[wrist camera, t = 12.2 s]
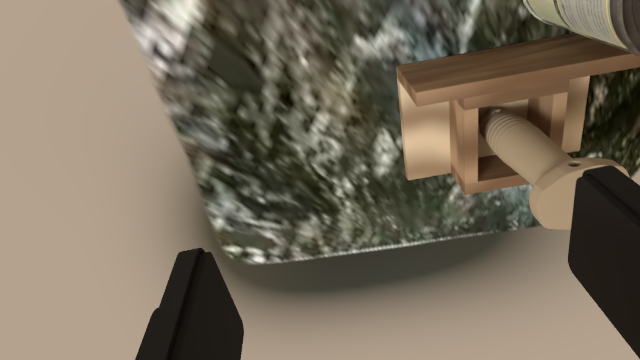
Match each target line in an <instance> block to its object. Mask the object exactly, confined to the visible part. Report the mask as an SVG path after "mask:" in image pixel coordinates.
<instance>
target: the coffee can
mask: <svg viewBox="0 0 640 360" xmlns="http://www.w3.org/2000/svg"><path fill="white" fill-rule="evenodd" d="M523 3H524V4H525V6H526V7H527V9H528V10H529V12H530V13H531V14H532V15H533V16H534V17H536V18H537V19H539V20H540V21H542V22H544V23H547V24H550V25H554V26H558V27H561V28H564V29H567V30H569V31H572V32H575V33H577V34H580V35H583V36H585V37H588V38H591V39H594V40H597V41H600V42H602V43H605V44H608V45H611V46H614V47H617V48H619V49H622V50H625V51H628V52H631V53H633V54H634V55H636V56H638V57H640V0H523Z"/></svg>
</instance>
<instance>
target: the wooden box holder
mask: <svg viewBox="0 0 640 360" xmlns="http://www.w3.org/2000/svg"><path fill="white" fill-rule="evenodd" d="M636 67H640V57H638V56H636V55H634V54H633V53H631V52H628V51H625V50H622V49H619V48H617V47H614V46H611V45H608V44H605V43H602V42H600V41H597V40H594V39H591V38H588V37H585V36H583V35H580V34H577V33H572V34H566V35H561V36H556V37H550V38H545V39H539V40H534V41H528V42H523V43H518V44H512V45H507V46H501V47H496V48H491V49H485V50H480V51H474V52H469V53H464V54H458V55H453V56H447V57H442V58H437V59H431V60H426V61H420V62H415V63H409V64H404V65H399V66H396V71H397V82H398V93H399V105H400V116H401V128H402V139H403V151H404V162H405V173H406V177H407V179H408V180H412V179H418V178H424V177H430V176H436V175H441V174H447V173H452V175H453V176H454V178H455V180H456V181H457V183H458V184H459V186H460V187H461V189H462V190H463V192H464V194H465V195H466V194H472V193H478V192H484V191H490V190H495V189H501V188H507V187H513V186H519V185H525V184H530V183H529V182H528V181H527V180H526V179H524V178H523V177H522V176H521V175H519V174H518V173H517V172H516V171H514V170H513V169H512V168H511V167H510V166H508V165H507V164H506V163H505V162H503V161H502V160H501V159H500V158H499V157H498V156H497V155H496V154H495V152H494V151H493V150H492V149H491V147H490V146H489V145H488V143H487V141H486V140H485V139H484V138H483V136H482V135H481V133H480V130H481V126H480V124H479V119H480V118H482V117H484V116H485V115H486V114H487V113H488V110H489V109H491V108H498V109H500V110H502V111H504V110H507V111H510V112H512V113H514V114H516V115H518V116H520V117H522V118H524V119H526V120H527V121H529V122H530V123H532V124H533V125H535V126H536V127H537V128H539V129H540V130H541V131H542V132H543V133H544V134H545V135H546V136H548V137H549V138H550V139H551V140H552V141H553V142H554V143H555V144H556V145H557V146H559V147H560V148H561V149H562V150H563V151H564V152H566V153H569V152H574V151H580V146H581V138H582V131H583V124H584V116H585V109H586V102H587V94H588V87H589V79H590V76H592V75H597V74H603V73H608V72H614V71H619V70H625V69H631V68H636Z"/></svg>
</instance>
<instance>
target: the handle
mask: <svg viewBox="0 0 640 360" xmlns="http://www.w3.org/2000/svg"><path fill="white" fill-rule="evenodd" d="M479 124H480V126H481V130H480V133H481V135H482V136H483V138H484V139H485V140H486V141H487V143H488V145H489V146H490V147H491V149H492V150H493V151H494V152H495V154H496V155H497V156H498V157H499V158H500V159H501V160H502V161H503V162H505V163H506V164H507V165H508V166H510V167H511V168H512V169H513V170H514V171H516V172H517V173H518V174H519V175H521V176H522V177H523V178H524V179H526V180H527V181H528V182H529V183H530V184H531V185H533V187H532V189H531V192H530V197H529V204H530V209H531V211H532V213H533V215H534V216H535V218H536V219H537V220H538V221H539V222H540V223H541V224H542V225H543V226H544V227H545V228H548V229H549V228H550V229H562V230H565V229H571V224H572V215H573V205H574V196H575V186H576V180H577V179H578V178H579V177H582V174H583V172H584V171H585V170H588V169H593V168H598V167H603V166H608V165H613V166H614V167H616V168H617V169H619V170H620V171H621V172H623V173H624V174H625V175H626V176H628V177H629V175H628V173H627V171H626V170H625V169H624V168H623V167H622V166H620V165H619V164H617V163H616V162H614V161H612V160H608V159H601V158H574V159H572V158H571V157H570V156H569V155H568V154H567V153H566V152H564V151H563V150H562V149H561V148H560V147H559V146H557V145H556V144H555V143H554V142H553V141H552V140H551V139H550V138H549V137H548V136H546V135H545V134H544V133H543V132H542V131H541V130H540V129H539V128H537V127H536V126H535V125H533V124H532V123H530V122H529V121H527V120H526V119H524V118H522V117H520V116H518V115H516V114H514V113H512V112H510V111H507V110H504V111H502V110H500V109H498V108H491V109H489V110H488V113H487V114H486V115H485V116H484V117H482V118H480V119H479Z"/></svg>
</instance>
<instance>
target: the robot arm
mask: <svg viewBox="0 0 640 360" xmlns="http://www.w3.org/2000/svg"><path fill="white" fill-rule="evenodd" d="M568 263H569V266H570V269H571V271H572V273H573V274H574V275H575V277H576V278H577V279H578V281H579V282H580V283H581V284H582V286H583V287H584V288H585V289H586V291H587V292H588V293H589V295H590V296H591V297H592V298H593V300H594V301H595V302H596V303H597V305H598V306H599V307H600V308H601V310H602V311H603V312H604V314H605V315H606V316H607V318H608V319H609V320H610V321H611V323H612V324H613V325H614V327H615V328H616V329H617V330H618V332H619V333H620V334H621V335H622V337H623V338H624V339H625V341H626V342H627V343H628V344H629V346H630V347H631V348H632V350H633V351H634V352H635V353H636V355H637V356H638V357H639V358H640V186H639V185H638V184H637V183H635V182H634V181H633V180H632V179H630V178H629V177H628V176H626V175H625V174H624V173H623V172H621V171H620V170H619V169H617V168H616V167H614V166H613V165H608V166H603V167H598V168H593V169H588V170H585V171H584V172H583V174H582V177H579V178H578V179H577V180H576V186H575V196H574V205H573V215H572V224H571V234H570V244H569V253H568ZM243 336H244V330H243V323H242V320H241V317H240V315H239V313H238V311H237V309H236V306H235V304H234V302H233V299H232V298H231V295H230V293H229V291H228V288H227V286H226V284H225V282H224V279H223V277H222V275H221V273H220V270H219V268H218V266H217V264H216V261H215V259H214V257H213V255H212V253H211V252H205V251H204V250H203V249H202V248H197V249H192V250H187V251H182V252H180V253H178V255H177V258H176V261H175V263H174V267H173V269H172V272H171V275H170V278H169V280H168V283H167V286H166V289H165V292H164V295H163V297H162V300H161V303H160V306H159V308H157V309H156V310H155V311H154V312H153V314H152V316H151V318H150V321H149V324H148V326H147V329H146V332H145V335H144V337H143V340H142V343H141V345H140V348H139V351H138V354H137V356H136V359H135V360H240V359H241V352H242V344H243Z"/></svg>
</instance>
